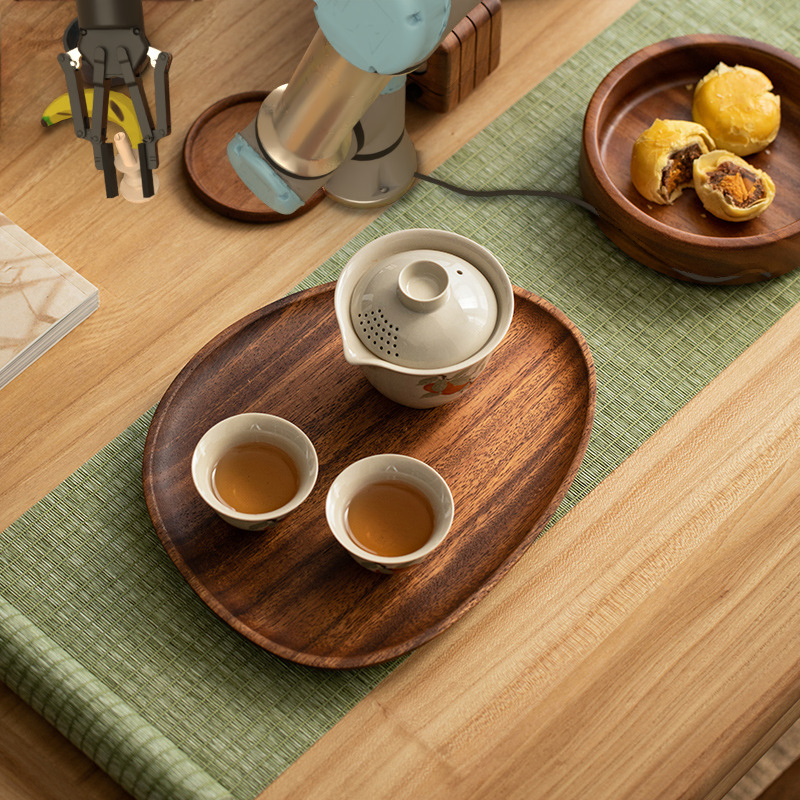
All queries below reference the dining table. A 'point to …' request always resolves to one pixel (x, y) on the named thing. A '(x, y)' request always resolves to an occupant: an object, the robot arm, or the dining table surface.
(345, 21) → the robot arm
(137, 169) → the candle
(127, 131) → the banana
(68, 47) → the bowl
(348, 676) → the dining table surface
